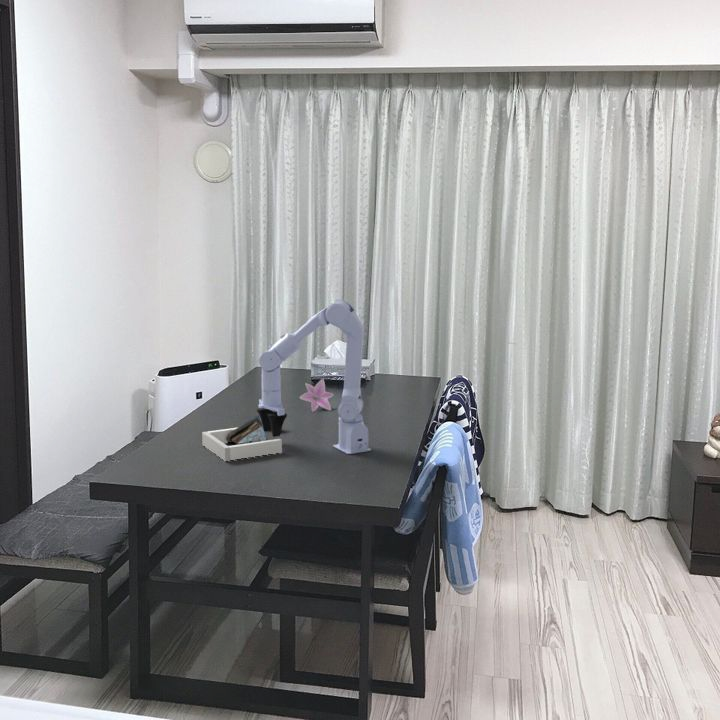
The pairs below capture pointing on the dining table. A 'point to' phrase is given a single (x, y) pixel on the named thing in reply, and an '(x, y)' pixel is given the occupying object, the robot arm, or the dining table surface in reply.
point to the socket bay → (238, 446)
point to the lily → (317, 396)
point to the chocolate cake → (248, 432)
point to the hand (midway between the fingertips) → (271, 433)
